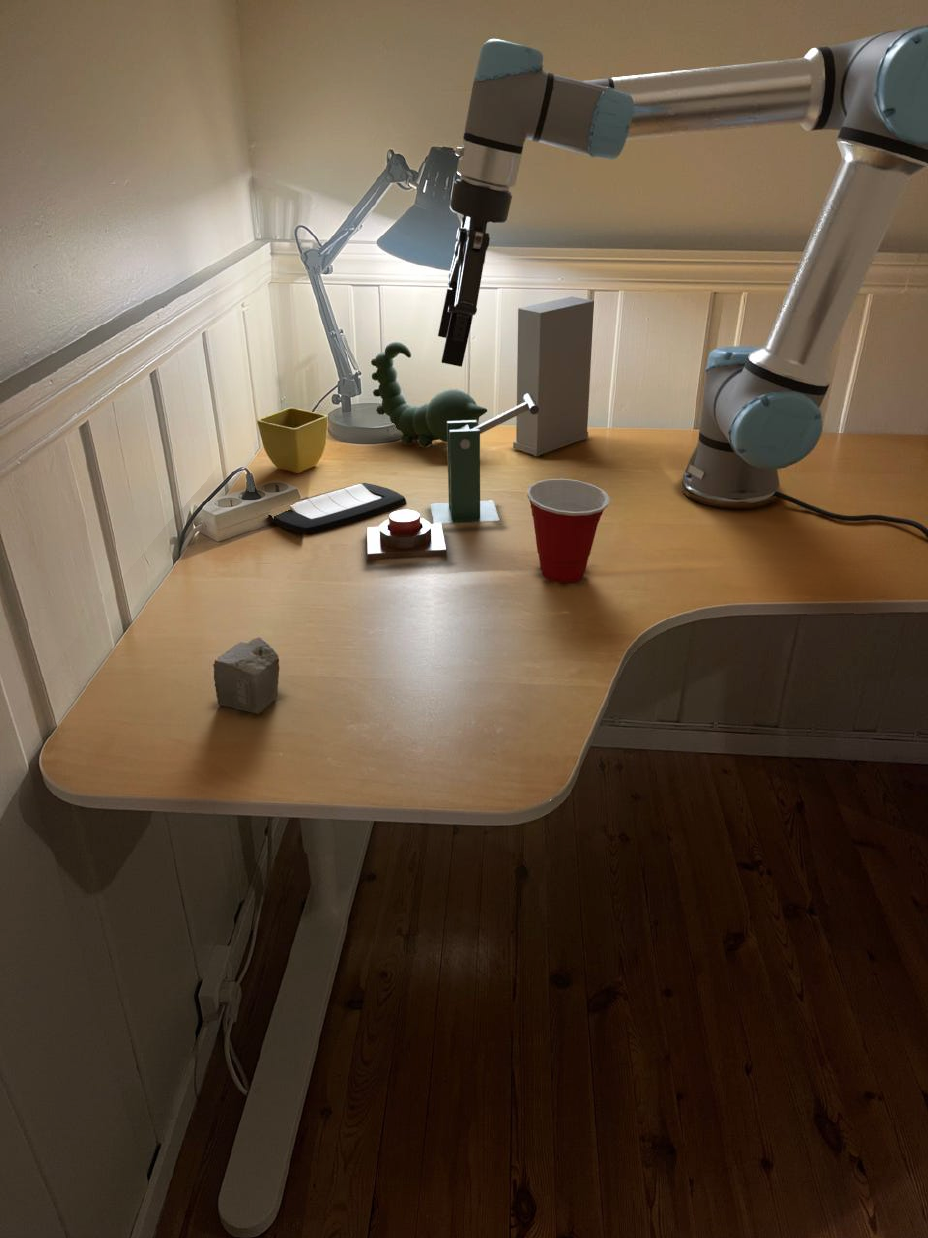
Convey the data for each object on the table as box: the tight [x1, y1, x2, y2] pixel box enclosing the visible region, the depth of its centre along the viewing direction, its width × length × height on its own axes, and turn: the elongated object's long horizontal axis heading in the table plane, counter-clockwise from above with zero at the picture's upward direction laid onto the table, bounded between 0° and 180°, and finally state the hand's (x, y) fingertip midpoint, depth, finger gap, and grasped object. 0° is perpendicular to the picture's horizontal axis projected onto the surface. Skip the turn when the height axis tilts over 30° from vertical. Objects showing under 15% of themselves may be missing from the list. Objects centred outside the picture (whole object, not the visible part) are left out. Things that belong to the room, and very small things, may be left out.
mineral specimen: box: [212, 637, 280, 715], centre depth 100 cm, size 7×9×8 cm
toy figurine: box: [370, 341, 488, 448], centre depth 170 cm, size 9×19×25 cm
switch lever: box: [457, 394, 539, 435], centre depth 138 cm, size 13×6×2 cm, turn 96°
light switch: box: [267, 482, 407, 536], centre depth 147 cm, size 20×3×14 cm
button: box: [388, 509, 421, 534], centre depth 133 cm, size 4×4×2 cm
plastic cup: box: [526, 478, 610, 584], centre depth 125 cm, size 11×11×12 cm
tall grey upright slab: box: [512, 296, 595, 457], centre depth 167 cm, size 14×6×25 cm, turn 133°
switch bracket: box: [429, 420, 501, 525], centre depth 141 cm, size 10×8×15 cm
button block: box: [366, 517, 448, 562], centre depth 134 cm, size 11×9×4 cm
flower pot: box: [256, 407, 328, 474], centre depth 163 cm, size 9×9×9 cm
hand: (449, 350), depth 128 cm, fingers open, 13 cm apart
